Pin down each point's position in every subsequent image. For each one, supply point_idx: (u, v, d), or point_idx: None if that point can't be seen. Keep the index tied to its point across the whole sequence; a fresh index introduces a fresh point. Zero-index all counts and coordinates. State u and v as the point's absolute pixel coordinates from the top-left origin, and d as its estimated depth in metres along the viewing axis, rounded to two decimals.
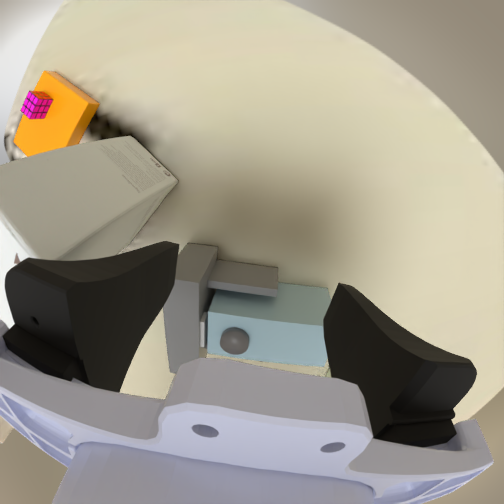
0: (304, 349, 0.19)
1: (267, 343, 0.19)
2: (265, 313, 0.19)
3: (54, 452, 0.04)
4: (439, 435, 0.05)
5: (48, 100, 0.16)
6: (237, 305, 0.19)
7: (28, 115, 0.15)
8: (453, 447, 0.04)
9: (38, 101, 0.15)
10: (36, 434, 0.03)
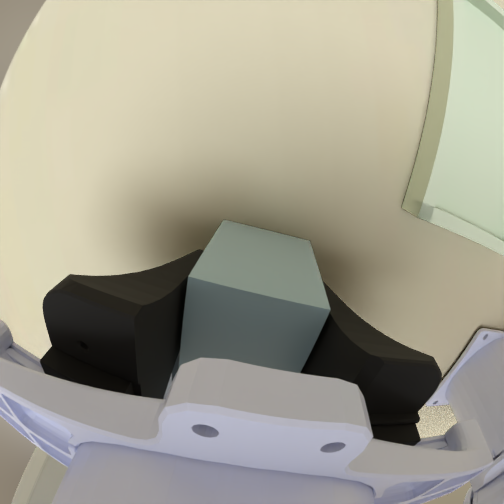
0: (254, 348, 0.08)
1: None
2: None
3: (54, 451, 0.04)
4: (397, 441, 0.05)
5: None
6: None
7: None
8: (453, 447, 0.04)
9: None
10: (36, 434, 0.03)
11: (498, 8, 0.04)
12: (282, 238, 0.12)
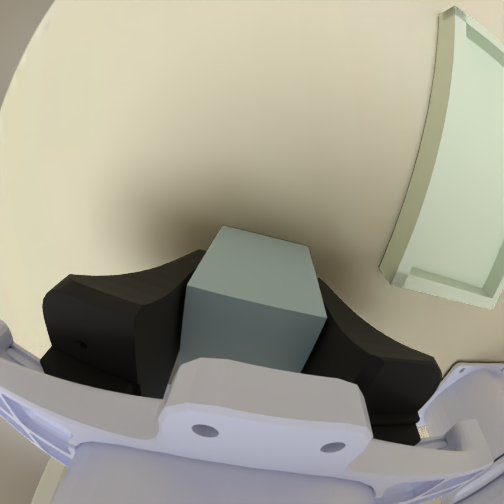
0: (252, 355, 0.08)
1: None
2: None
3: (54, 451, 0.04)
4: (397, 441, 0.05)
5: None
6: None
7: None
8: (453, 447, 0.04)
9: None
10: (36, 434, 0.03)
11: (503, 46, 0.06)
12: (280, 244, 0.12)
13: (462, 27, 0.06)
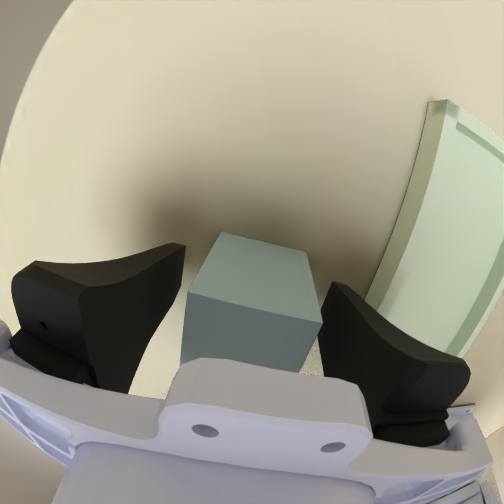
0: (250, 358, 0.08)
1: None
2: None
3: (54, 452, 0.04)
4: (432, 436, 0.05)
5: None
6: None
7: None
8: (453, 447, 0.04)
9: None
10: (36, 434, 0.03)
11: (497, 136, 0.08)
12: (278, 249, 0.12)
13: (451, 129, 0.08)
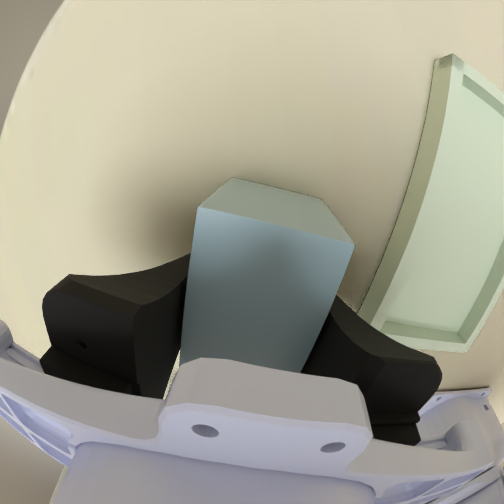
0: (270, 296, 0.07)
1: None
2: None
3: (54, 452, 0.04)
4: (398, 440, 0.05)
5: None
6: None
7: None
8: (453, 447, 0.04)
9: None
10: (36, 434, 0.03)
11: (502, 94, 0.07)
12: (293, 194, 0.11)
13: (458, 80, 0.07)
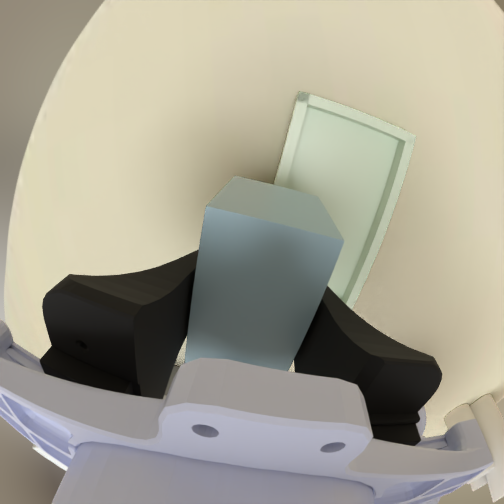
0: (269, 285, 0.08)
1: (245, 346, 0.10)
2: None
3: (54, 451, 0.04)
4: (398, 441, 0.05)
5: None
6: None
7: None
8: (453, 447, 0.04)
9: None
10: (36, 434, 0.03)
11: (354, 109, 0.15)
12: (292, 192, 0.12)
13: (302, 110, 0.15)
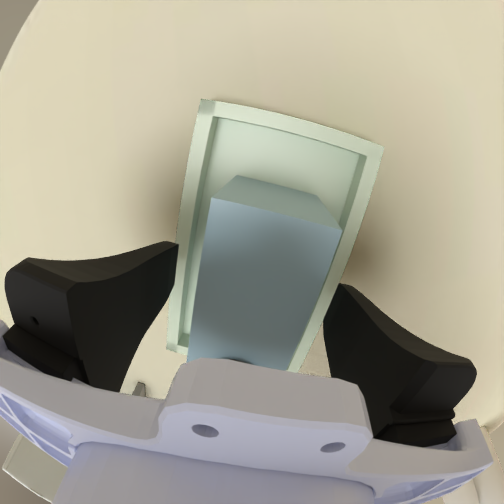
0: (271, 274, 0.09)
1: (248, 337, 0.10)
2: None
3: (54, 451, 0.04)
4: (439, 435, 0.05)
5: None
6: None
7: None
8: (453, 447, 0.04)
9: None
10: (36, 434, 0.03)
11: (284, 115, 0.11)
12: (292, 190, 0.12)
13: (205, 126, 0.11)
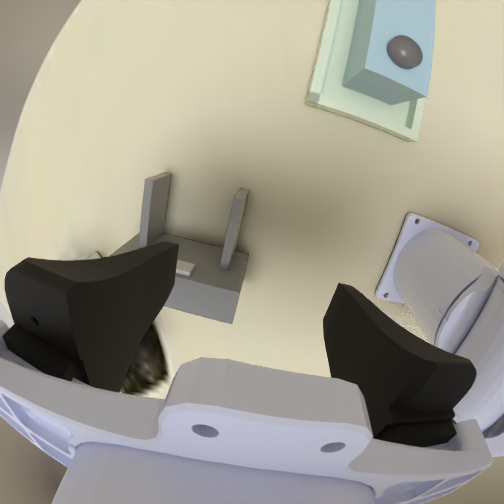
0: None
1: (408, 25, 0.09)
2: (370, 20, 0.10)
3: (54, 451, 0.04)
4: (439, 435, 0.05)
5: None
6: (363, 48, 0.11)
7: None
8: (453, 447, 0.04)
9: None
10: (36, 434, 0.03)
11: None
12: None
13: None
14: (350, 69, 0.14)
